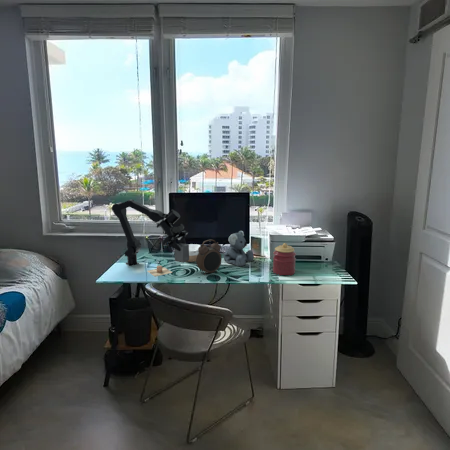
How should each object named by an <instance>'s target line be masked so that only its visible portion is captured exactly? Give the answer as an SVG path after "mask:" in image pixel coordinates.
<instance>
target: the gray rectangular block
mask: <svg viewBox="0 0 450 450" xmlns="http://www.w3.org/2000/svg"><path fill="white" fill-rule="evenodd" d="M177 244H178V246H179V247H180V249H181V251H178V250H176V249H174V248H173V249H174V261H175V262H176V263H177V262H178V263H182V264H183V263H185V262H188V260H189V244H188V243H186V244H183V243H177Z"/></svg>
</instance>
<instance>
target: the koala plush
mask: <svg viewBox="0 0 450 450" xmlns="http://www.w3.org/2000/svg"><path fill="white" fill-rule="evenodd" d="M244 236H245V234H244V231H243V230H239V231H238V232H235V233H232V234H230V236H229V237H228V242H229V247H228V249H227V250H226V251H224V253H223V260H224V261H225V262H226V263H227V264H232V265H234V266H236V267H243V266H244V265H246V262H252V261H254V257H255V256H254V251H253V250H252V249H248V250H247V251H246V252H245V250H244V249H245V248H246V247H247V246H248V243H247V241H246V238H245V237H244Z"/></svg>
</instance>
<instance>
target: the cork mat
mask: <svg viewBox="0 0 450 450" xmlns="http://www.w3.org/2000/svg"><path fill="white" fill-rule="evenodd" d="M146 271H147V273H149V274H151V275H152V276H153V277H155V278H156V277H160V276H163V275H168V274H172V273H173V271H171V270H169V269H168V268H166V267H164V266H162V272H161V273H158V272H157V268H154V269H149V270H146Z"/></svg>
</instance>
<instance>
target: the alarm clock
mask: <svg viewBox="0 0 450 450" xmlns="http://www.w3.org/2000/svg"><path fill="white" fill-rule="evenodd" d="M210 241H211V242H213V243H212V244H208V245H206V244H205V243H207V242H210ZM199 245H200V247H199V248H198V252H199V253H198V255H197V258H196V261H195V263H196V266H197V268H198V269H199V270H201V272H200V273H201V274H202V273H203V272H204V274H203V276H206V274H207V273H208V274H212V273H218V270H219V268H220V266H221V265H222V254H221V253H220V251H221V245H220V244H219V242H218V241H217V242H216V240H215V239H207V240H204V241H203V242H202V244H199Z"/></svg>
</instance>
